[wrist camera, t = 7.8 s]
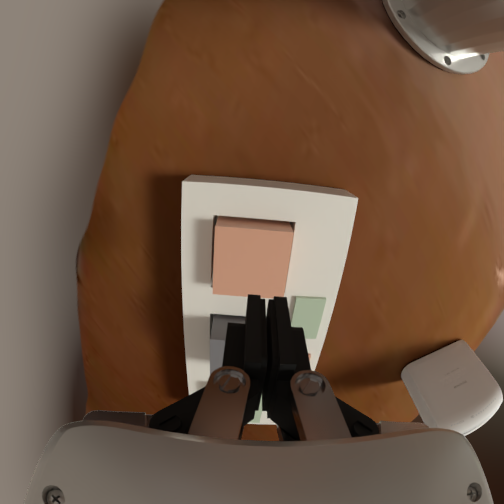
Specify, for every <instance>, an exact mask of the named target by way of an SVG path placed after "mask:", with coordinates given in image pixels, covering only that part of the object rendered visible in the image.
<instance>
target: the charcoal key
mask: <svg viewBox="0 0 504 504" xmlns="http://www.w3.org/2000/svg"><path fill="white" fill-rule="evenodd" d="M245 318H246V316H234V315H222V314H214V318H213V324H212V329H211V335H210V375H211V373H212V372H213V371H214V370H216V369H218V368H220V367H222V363H223V355H224V347H225V340H226V332H227V325H228V322H231V323H242V324H245Z"/></svg>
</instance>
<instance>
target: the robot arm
mask: <svg viewBox="0 0 504 504" xmlns="http://www.w3.org/2000/svg"><path fill="white" fill-rule="evenodd" d="M382 1H383V4H384V7H385V9H386V11H387V13H388V16H389V17H390V19H391V20H392V22H393V24H394V26H395V27H396V28H397V30H398V31H399V32H400V34H401V35H402V36H403V38H404V39H405V40H406V41H407V42H408V43H409V44H410V45H411V47H412V48H413V49H414V50H416V51H417V52H418V53H419V54H420V55H421V56H422V57H423V58H425V59H426V60H428V61H429V62H430V63H432V64H433V65H435V66H437V67H439V68H441V69H442V70H444V71H447V72H451V73H454V74H470V73H474V72H477V71H479V70H480V69H481V68H482V67H484V65H485V64H486V62H487V60H488V56H489V53H494V52H500V51H504V0H382ZM261 395H262V411H267V418H270V420H272V421H273V422H274V423H275V424H277V433H278V437H279V441H252V440H241V438H242V434H243V430H244V426H245V425H246V424H247V423H249V422H250V421H252V420H253V419H254V416H255V411H258V410H259V405H260V400H261ZM23 504H493V500H492V497H491V493H490V490H489V487H488V483H487V480H486V477H485V475H484V472H483V470H482V467H481V465H480V462H479V460H478V458H477V455H476V454H475V452H474V450H473V448H472V446H471V445H470V443H469V441H468V440H467V439H466V437H465V436H464V435H462V434H461V433H459V432H457V431H454V430H450V429H444V428H429V427H428V426H427V425H425V424H423V423H408V422H388V421H380V423H375V422H374V421H373V420H372V419H371V418H369V417H367V416H366V415H364V414H362V413H361V412H359V411H357V410H356V409H354V408H353V407H351V406H349V405H348V404H346V403H345V402H343V401H341V400H340V399H338V398H337V397H335V396H334V393H333V391H332V388H331V386H330V384H329V382H328V380H327V378H326V377H325V376H323V375H322V374H321V373H319V372H316V371H312V370H311V367H310V361H309V356H308V351H307V345H306V340H305V335H304V330H303V328H302V327H291V321H290V314H289V308H288V302H287V297H279V296H274V298H273V299H269V301H268V307H267V314H266V306H265V299H261V296H260V295H253V294H248V298H247V308H246V318H245V324H242V323H231V322H228V325H227V332H226V340H225V347H224V355H223V363H222V367H220V368H218V369H216V370H214V371H213V372H212V373H211V375H210V376H209V379H208V382H207V384H206V386H205V387H203V388H202V389H200V390H198V391H196V392H194V393H192V394H191V395H189V396H187V397H185V398H183V399H181V400H179V401H177V402H175V403H174V404H172V405H170V406H168V407H166V408H164V409H162V410H160V411H158V412H157V413H155V414H154V415H146V414H145V412H116V411H100V410H98V411H92V412H90V413H88V414H87V415H86V416H85V417H84V419H83V421H78V422H73V423H69V424H66V425H64V426H62V427H61V428H59V429H58V430H57V431H56V432H55V434H54V435H53V436H52V437H51V439H50V440H49V442H48V443H47V445H46V447H45V449H44V451H43V453H42V455H41V457H40V459H39V461H38V464H37V466H36V468H35V471H34V473H33V476H32V479H31V481H30V484H29V488H28V491H27V493H26V497H25V500H24V503H23Z"/></svg>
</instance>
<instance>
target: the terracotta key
mask: <svg viewBox="0 0 504 504" xmlns="http://www.w3.org/2000/svg"><path fill="white" fill-rule="evenodd" d="M293 234H294V232H293V230H292V227H291V225H290V223H289V221H279V220H268V219H256V218H244V217H231V216H219V217H218V219H217V222H216V225H215V238H214V263H213V294H218V295H230V296H243V297H248V294H253V295H260V296H261V298H272V299H273V298H274V296H279V297H284V292H285V286H286V279H287V273H288V267H289V261H290V254H291V247H292V241H293Z"/></svg>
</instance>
